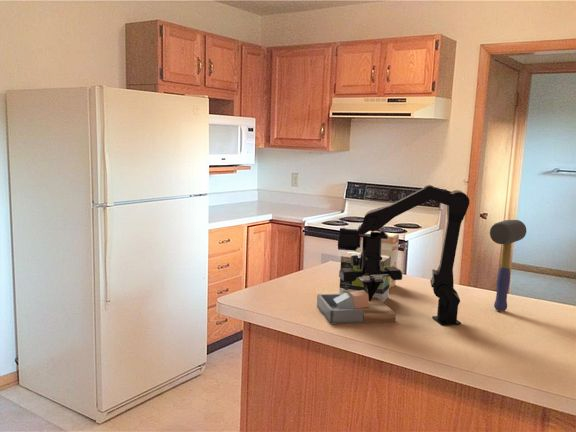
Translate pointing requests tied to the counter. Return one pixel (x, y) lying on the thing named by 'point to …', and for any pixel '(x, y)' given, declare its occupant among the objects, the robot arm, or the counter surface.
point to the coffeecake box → (387, 250)
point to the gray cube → (343, 302)
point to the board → (377, 312)
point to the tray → (335, 315)
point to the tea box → (356, 285)
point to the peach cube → (359, 299)
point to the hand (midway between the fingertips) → (369, 300)
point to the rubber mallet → (505, 255)
